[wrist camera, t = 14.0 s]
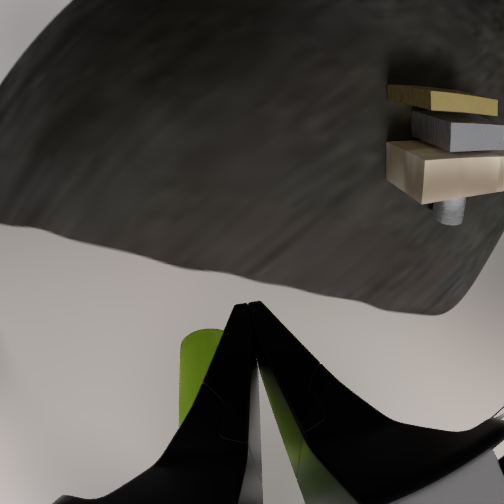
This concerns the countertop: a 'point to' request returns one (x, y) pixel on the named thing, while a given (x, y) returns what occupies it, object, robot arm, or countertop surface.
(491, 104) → the block
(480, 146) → the grey block with shaft
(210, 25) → the countertop surface
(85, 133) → the countertop surface
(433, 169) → the block
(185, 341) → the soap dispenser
